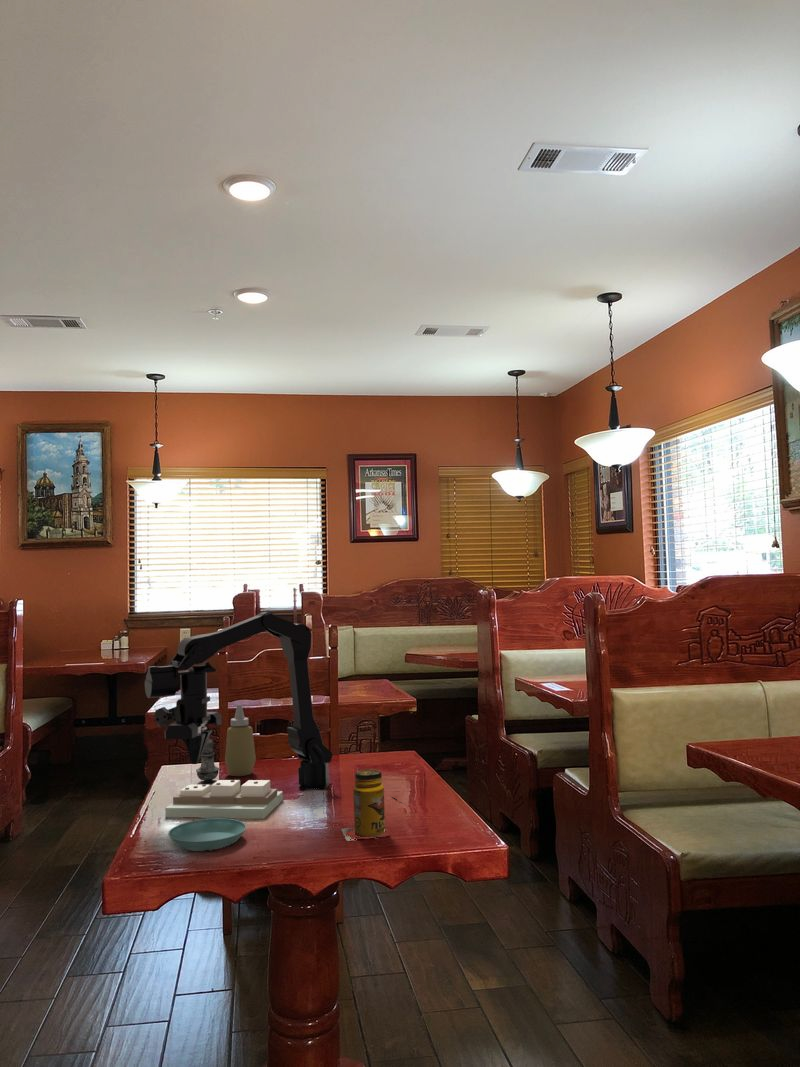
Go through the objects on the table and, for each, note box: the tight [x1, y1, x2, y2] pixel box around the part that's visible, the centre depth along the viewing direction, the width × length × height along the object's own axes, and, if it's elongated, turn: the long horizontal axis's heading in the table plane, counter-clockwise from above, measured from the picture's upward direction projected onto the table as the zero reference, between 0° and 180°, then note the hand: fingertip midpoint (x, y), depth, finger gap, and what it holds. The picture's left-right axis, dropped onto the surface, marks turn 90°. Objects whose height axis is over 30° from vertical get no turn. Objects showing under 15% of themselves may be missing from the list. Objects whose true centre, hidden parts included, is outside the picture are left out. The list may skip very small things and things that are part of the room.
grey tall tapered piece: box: [195, 738, 221, 785], centre depth 201 cm, size 6×6×12 cm
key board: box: [164, 788, 284, 819], centre depth 178 cm, size 22×14×3 cm, turn 82°
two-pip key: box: [211, 779, 241, 797], centre depth 178 cm, size 5×5×3 cm
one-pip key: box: [240, 779, 271, 797], centre depth 178 cm, size 5×5×3 cm
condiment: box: [341, 768, 386, 842], centre depth 158 cm, size 7×8×12 cm
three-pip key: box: [179, 784, 211, 796], centre depth 179 cm, size 5×5×3 cm
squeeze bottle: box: [224, 704, 257, 777], centre depth 210 cm, size 8×8×18 cm
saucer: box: [168, 818, 247, 852], centre depth 156 cm, size 15×15×3 cm
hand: (194, 763), depth 180 cm, fingers closed
